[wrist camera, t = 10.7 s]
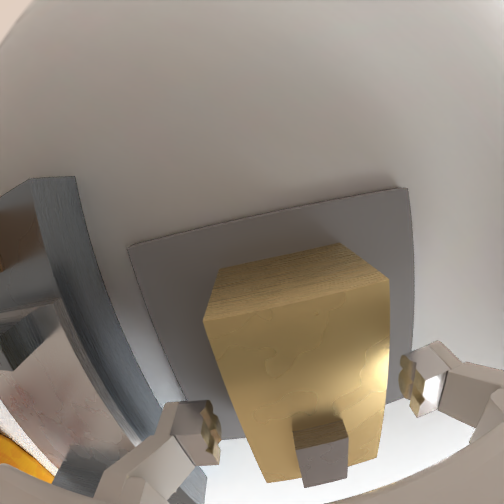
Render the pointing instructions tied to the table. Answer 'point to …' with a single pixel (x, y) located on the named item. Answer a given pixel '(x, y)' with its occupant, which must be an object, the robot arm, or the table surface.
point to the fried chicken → (22, 460)
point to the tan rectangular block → (304, 359)
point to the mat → (263, 247)
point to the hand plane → (68, 344)
